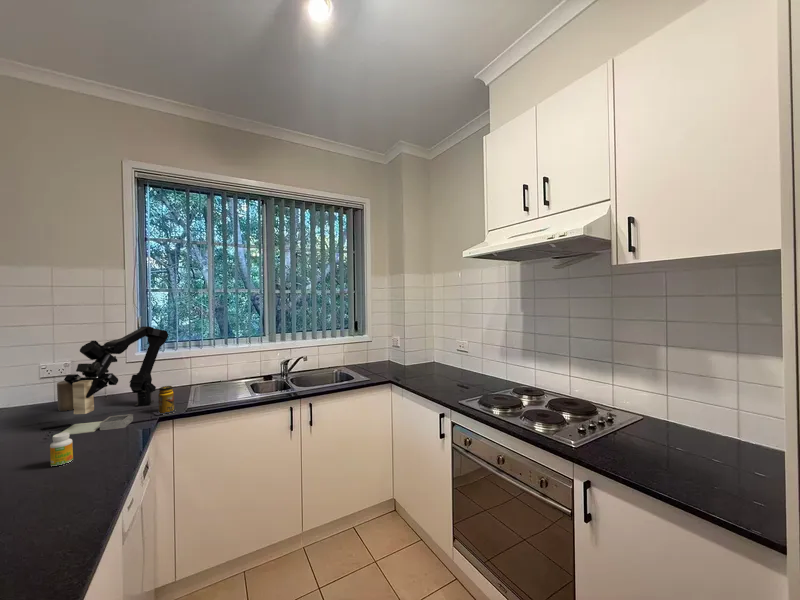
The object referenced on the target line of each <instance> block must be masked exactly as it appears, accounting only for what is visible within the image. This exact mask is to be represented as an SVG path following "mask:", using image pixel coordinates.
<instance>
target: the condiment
mask: <svg viewBox="0 0 800 600" xmlns="http://www.w3.org/2000/svg"><path fill="white" fill-rule="evenodd" d="M173 388H174V387H173V385H164V386H161V387H159V388H158V390H159V391H158V411H159V412H160V413H165V412H170V411H173V410H174V409H175V397H174V396H175V393H174V391H173V390H174V389H173Z"/></svg>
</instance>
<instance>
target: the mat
mask: <svg viewBox="0 0 800 600" xmlns="http://www.w3.org/2000/svg"><path fill="white" fill-rule="evenodd" d="M102 421H103V420H102ZM102 421H101V420H100V421H91V422H85V423H84V422H83V423H74V424H73V425H71V426H70V427H68V428H66V429H64V430H63V431H61V432H60V433H64V432H68V433H69V435H79V434H86V433H94V432H95V431H97V430H98V429H100V423H101V422H102Z"/></svg>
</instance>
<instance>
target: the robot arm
mask: <svg viewBox="0 0 800 600" xmlns="http://www.w3.org/2000/svg"><path fill="white" fill-rule="evenodd" d="M144 337H146V338H147V343H148V347H147V350H146V353H145V356H144V357H143V361H142V362H141V366H140V368H139V372H137V373H136V374H132V375H131V378H130V381H129V382H128V383H129V388H130V389H131V392H132V393H133V394H136V399H137V401H136V402H137V403H136V404H134V407H141V406H143V405H144V406H150V405H151V404H153V403H154V401H155V400H152V393H154V392H155V391H156V388H157V386H155V385H154V384H153V383H152V380H153V379H152V375H151V374H152V370H153V368H154V365H155V363H156V359H157V357H158V354H159V352H160V348H161V347H162V346H163V345H164V344H166V342H167V340H168V338H169V334H168V331H167V330H165V329H158V328H154V327H152V326H148V325H147V326H146V325H145V326H140V327H139V328H138V329H136V330H133V331H132V332H130V333H128V334H127V335H124V336H123V337H120V338H117V339H112V340H110V341H107V342H104V343H103V345H102V344H100V343H99V342H98V341H97V340H90V341H89V342H88V343H85V344H84V345H82V346H81V347H80V349H79V352H80V353H81V354H82V355H84V356H85V357H86V358H88V359H89V360H92V363H78V364H77V367H76V370H75V372H77V374H76V373H74V374H66V375H65V377H64V378H63V381H66V382H67V383H69V384H70V385H71V386H73V385H72V383H75V382H78V381H82V380H93V384H92V386H91V388H90V390H89V391H88V393H87V395H86V398H89V397H90V396H92V395H93V394H96V393H99V391H101V390H102V389H104V388H107V387H108V386H117V384H118V383H119V378H118V377H117V376H116V375H115V374H114V373H112V372H111V373H110V371H109V368H110V366H111V364H112V363H117V362H118V358H117V356H116V355H120V354H122V353H124V352H125V351H126V350H128V348H129V346H131V345H132V344H133V343H135V342H138V341H140V340H141V339H142V338H144ZM114 355H115V356H114ZM78 372H79V373H81V375H82V376H81V375H79V374H78Z"/></svg>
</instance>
